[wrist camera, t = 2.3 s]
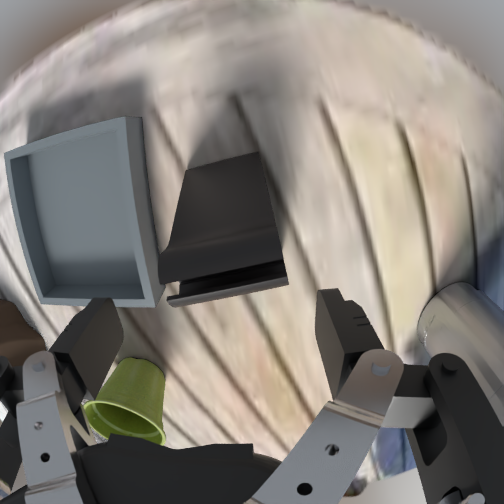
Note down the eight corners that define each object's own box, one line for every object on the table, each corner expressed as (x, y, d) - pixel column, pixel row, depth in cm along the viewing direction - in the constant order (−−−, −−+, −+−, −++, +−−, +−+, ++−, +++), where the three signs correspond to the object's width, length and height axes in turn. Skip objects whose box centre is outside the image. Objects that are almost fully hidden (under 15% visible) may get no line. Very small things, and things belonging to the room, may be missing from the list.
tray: (141, 117, 21) (125, 116, 18) (165, 287, 27) (155, 307, 24) (26, 148, 22) (4, 153, 19) (56, 287, 28) (40, 304, 25)
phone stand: (186, 169, 23) (130, 204, 12) (258, 151, 23) (264, 168, 12) (215, 267, 27) (192, 360, 16) (281, 253, 26) (300, 342, 15)
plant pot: (195, 378, 32) (183, 438, 24) (154, 406, 35) (139, 457, 27) (129, 332, 30) (100, 388, 22) (96, 367, 32) (71, 417, 24)
